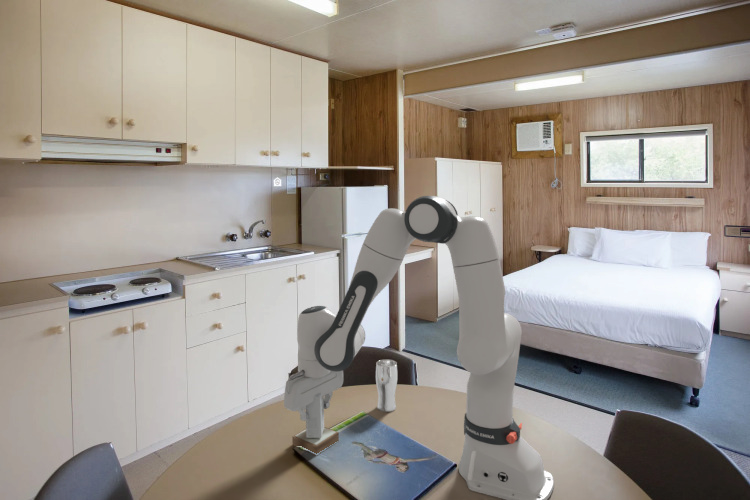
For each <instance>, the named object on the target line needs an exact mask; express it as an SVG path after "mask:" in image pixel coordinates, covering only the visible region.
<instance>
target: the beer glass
mask: <svg viewBox="0 0 750 500" xmlns="http://www.w3.org/2000/svg"><path fill="white" fill-rule="evenodd" d="M375 363H376V364H375V365H376V366H375V383H376V389H377V395H378V397H377V398H378V400H377V406H376V407H377V410H379V411H380V412H383V413H389V412H391V413H392V412H394V411H395V410H396V409H397V406H396V405H397V404H396V391H397V385H398V365H397V364H398V362H397V361H395V360H393V359H380V360H378V361H376V362H375Z"/></svg>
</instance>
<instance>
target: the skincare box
mask: <svg viewBox="0 0 750 500" xmlns="http://www.w3.org/2000/svg"><path fill="white" fill-rule="evenodd" d="M324 397H325V396H323V397H322V392H321V393H319V394H317V395H316V396H314V402H312V403H310V404H308V405H306V409H305V412H306V413H309V416H308V417H309V419H307V420H306V421H305V429H306V437H307V438H321V437H322V433H323V429H324V427H325V409H324Z"/></svg>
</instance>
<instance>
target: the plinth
mask: <svg viewBox="0 0 750 500" xmlns="http://www.w3.org/2000/svg"><path fill="white" fill-rule="evenodd" d="M339 433H340V432H338V431H336V430H333V429H330V428H328V427H325V426H324V429H323V433H322V437H321V438H307V437H306V428H304V429H303V430H300V431H299V432H297V433H296V434H294V435H293V436H292V437H291V438H292V439H291V440H292V446H294V447H295V446H302V447H304V448H306V449H308V450H310V451H312V452H314V453H316V454H317V453H319V452H320V451H322V450H324V449H325V448H327V447H329V446H330V445H332V444H334V443H335V442H337V441H338V442H339V440H340V438H339V437H340V436H339V435H340V434H339ZM338 442H337V443H338ZM335 444H336V443H335ZM335 444H334V445H335ZM332 446H333V445H332ZM329 448H330V447H329Z"/></svg>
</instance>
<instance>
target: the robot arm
mask: <svg viewBox="0 0 750 500" xmlns="http://www.w3.org/2000/svg"><path fill="white" fill-rule="evenodd" d="M458 214H459V213H458V211H457V209H456V207H455V206H454V204H452V203H451V202H450V201H449V200H447V199H445V198H443V197H440V196H436V195H423V196H419V197H418V198H416V199H414V200H413V201H411V202H410V203H409V204H408V206H407V207H406V210H405V211H404V210H402V209H398V208H391V207H390V208H385V209H383V210H382V211H381V212H380V213H379V214H378V215H377V217H376V218H375V219H374V222H373V223H372V225H371V226H370V228H369V230H368V232H367V235H366V236H365V238H364V240H363V243H362V245H361V247H360V251H359V254H358V256H357V258H356V259H357V260H356V262H355V265H354V270H353V273H352V276H351V279H350V282H349V283H350V284H349V286H348V290H347V292H346V294H345V296H344V297H343V301H342V303H341V305H340V307H339V309H338V311H337V313H335V312H333V311H331V310H330V309H329V308H328V307H327V306H325V305H315V306H311V307H307V308H305V309H304V310H302V311H301V312H300V313H299V316H298V319H297V328H296V329H297V333H296V335H297V338H296V339H297V344H298V351H297V372H296V373H293V374H291V375H290V376H289V378H288V379H287V380H286V382H285V387H284V394H283V395H284V396H283V406H284V408H285V409H287V410H288V411H291V412H298V413H299V419H300V420H301V421H302V422H306V420H307V419H309V417H308V416H309V413H306V405H308V404H310V403H312V402H314V396H316V395H317V394H319V393H321V392H322V397H323V396H324V410H326V409H329V408H330V405H331V403H330V402H331V400H332V398H333V397H332V396H333V393H334V391H337V390H338V389H341V388H342V387H343V384H344V370H346V369H348V368H349V367H350V366H351V364H352V362H353V361H354V359H355V357H356V355H357V354H358V353H359V352H360V350H361V348H362V346H363V345H364V343H365V340H366V331H365V328H364V327H363V325H362V322H363V320H364V318H365V315H366V313H367V312H368V309H369V307H370V305H372V302H374V300H375V299H376V297H377V296H378V295H379V294H380V293H381V292H382V291H383V289H385V288H386V287H387V286H388V285H389V284H390V282H391V281H392V280H393V278H394V277H395V275H396V274H397V273H398V270H399V269H400V267H401V265H402V263H403V260H404V258H405V256H406V254H407V252H408V249H409V247H410V246H411V244H412V243H413V242H415V240H417V241H421V242H425V243H435V244H443V245H444V244H445V246H447V248H448V251H449V253H450V257H451V264H452V269H453V273H454V279H455V284H456V290H457V296H458V308H459V309H458V312H459V313H458V314H459V317H458V321H459V322H458V324H459V325H458V327H459V328H458V329H459V333H458V334H459V337H458V342H457V346H456V357H457V359H458V361H459V363H460V365H461V366H462V368H463V369H464V370H466V371H467V372H469V373H470V374H469V377H468V381H467V384H466V411H465V413H464V418H463V434H464V441H463V442H464V443H463V449H462V453H461V456H460V460H459V463H458V469H457V470H458V472H459V474H460V475H461V477H462V478H463V479H464V480H465V482H466V485H467V487H468V489H469V490H470V491H472V492H475V493H480V494H484V495H487V496H491V497H494V498H495V497H496V498H499V499H503V500H548V499H549V498H550V496H551V495H552V492H553V491H554V487H555V484H554V477H553V475H552V474H551V473H550V472H548V470H545V466H544V462H543V461H544V460H543V459H542V455H540V453H539V452H538V451H537V450H536V449H535V448H534V447H533V446H531V445H530V444H529V443H528V441H526V440H525V439H524V438H523V437H522V436H521V430H522V427H523V422H521V423H519V425H518V424H517V423H516V421H515V420H514V418H513V412H514V391H515V383H516V378H517V377H516V376H517V371H518V364H519V357H520V349H521V348H520V347H521V339H522V335H523V334H522V333H523V332H522V330H523V329H522V326H521V323H520V322H519V321H518V319H517V318H516V317H515V316H513V315H512V314H509V313H508V312H505V295H506V287H505V282H504V276H503V271H502V267H501V261H500V257H499V252H498V248H497V245H496V241H495V238H494V235H493V232H492V229H491V227H490V225H489V223H488V221H487V220H485V219H484V218H482V217H479V216H474V215H472V216H471V215H470V216H464V217H463V216H459V215H458Z"/></svg>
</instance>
